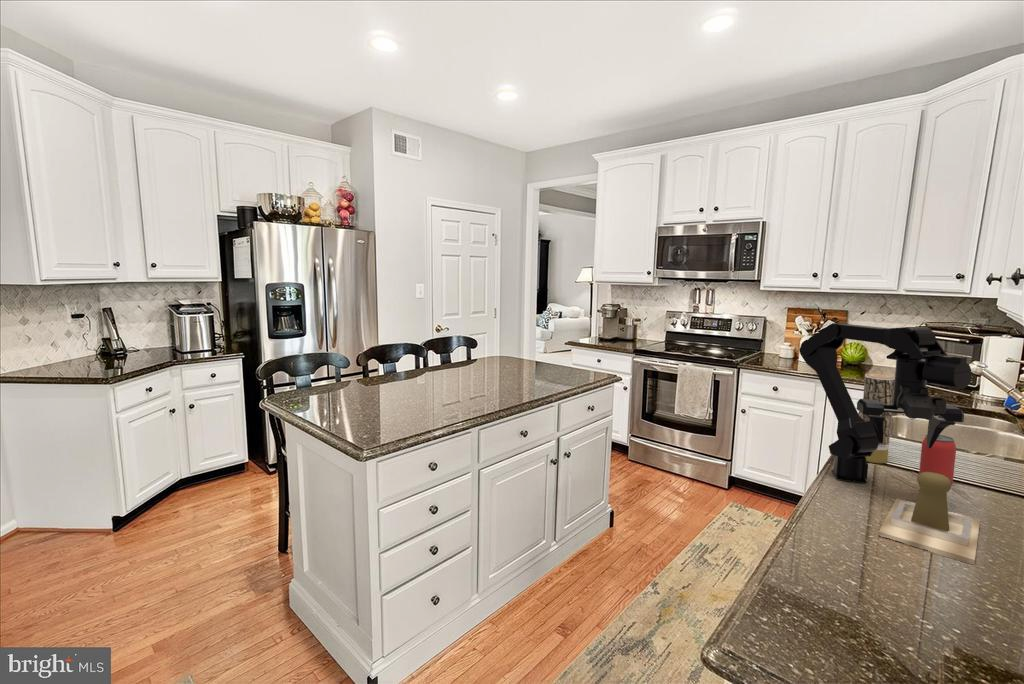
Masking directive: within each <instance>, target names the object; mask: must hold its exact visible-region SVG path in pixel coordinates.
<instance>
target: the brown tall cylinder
mask: <svg viewBox="0 0 1024 684" xmlns="http://www.w3.org/2000/svg"><path fill="white" fill-rule="evenodd" d="M894 381H895V375H894V376H893V375H889V374H881V373H880V374H879V373H866V374H865V375H864V385H863V396H862V397H863V398H862V399H872V400H878V401H880V402H881V403H883V404H890V405H893V403H891V399H893V393H894V386H893V382H894ZM892 415H893V413H892V412H884V413H883V414H882V415H881V416H883V417H884V418H885V419H884V422H883V443H882V444H881V443H880V444H879V445H878V448H877V449H876V450H874V451H873V453H872V455H871V456H866V457H865V458H866V462H867V463H872V464H885V463H888V458H889V449H890V438H891V437H890V436H891V428H892V426H891V425H892ZM861 418H862V419H863V420H864V421H871V420H870V418H868V417H867V416H866V415H865V414H862V413H861Z"/></svg>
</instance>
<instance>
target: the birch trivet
mask: <svg viewBox="0 0 1024 684" xmlns="http://www.w3.org/2000/svg"><path fill="white" fill-rule="evenodd" d="M900 501H903V502H907V503H911V504H916V502H912V501H909V500H904V499H900V498H896V499H895V501H894V503H893V505H892V507H891V508H890V510H889V512H888V514H887V516H886V518H885V519H884V521H883V523H882V524H881V527H880V529H879V530H878V535H880V536H883V537H887V538H890V539H893V540H897V541H901V542H904V543H907V544H910V545H914V546H917V547H921V548H924V549H926V550H928V551H927V552H929V551H930V552H929V553H932V554H936V555H940V556H942V557H945V558H949V559H953V560H957V561H960V562H963V563H965V564H969V565H972V564H973V565H972V566H975V563H974V562H976V555H977V554H976V553H977V547H978V546H977V545H978V540H979V532H980V525H981V519H980V518H977V517H973V516H969V515H964V514H960V513H958V512H957V513H956V512H952V511H949V510H948V513H951V514H955V515H959V516H963V517H967V518H971V519H972V522H971V529H970V535H969V541H968V546H963V545H960V544H956V543H953V542H949V541H946V540H942V539H939V538H935V537H931V536H928V535H924V534H921V533H917V532H914V531H910V530H907V529H903V528H900V527H896V526H892V525H891V518H892V516H893V514H894V512H895V510H896V508H897V506H898V504H899V502H900ZM912 515H913V512H910V511H906V510H905V511H904V513H903V515H902V517H901V519H903V520H907V521H910V522H911V518H912ZM962 530H963V525H960V524H956V523H952V522H949V531H948V532H951V533H955V534H958V535H962ZM878 535H877V536H878Z"/></svg>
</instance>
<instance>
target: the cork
mask: <svg viewBox="0 0 1024 684" xmlns="http://www.w3.org/2000/svg"><path fill="white" fill-rule="evenodd" d="M917 484H918V487H919V491H918V494H917V497H916V502H915V503H916V504H915V508H914V511H913V515H912V518H911V522H914V523H918V524H921V525H925V526H929V527H932V528H936V529H940V530H944V531H947V532H948V531H949V519H948V511H949V510H948V509H949V507H948V495H947V493H948V492H949V491H950V490H951V488H952V485H951V482H950V480H949V478H947V477H946V476H944V475H941V474H938V473H933V472H923V473H921V474H920V475H919V474H918V476H917Z"/></svg>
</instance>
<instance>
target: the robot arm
mask: <svg viewBox="0 0 1024 684" xmlns="http://www.w3.org/2000/svg"><path fill="white" fill-rule="evenodd" d="M846 340H852V341H853V340H854V341H860V342H867V343H873V344H874V343H875V344H880V345H883V346H885V347H888V348H889V349H892V350H894V351H893V352H891V353H890V354H888V355H886V356H885V357H886V359H888V360H895V370H894V371H895V372H894V377H895V381H894V382H893V386H894V393H893V399H891V403H893V405H890V404H883V403H881V402H880V401H878V400H872V399H863V398H860V399H858V401H856V406H855V403H854V401H853V399H852V397H851V395H850V393H849V390H848V389H847V386H846V385H845V382H844V380H843V378H842V376H841V373H840V371H839V370H838V367H837V362H838V357H839V355H838V353H837V350H838V349H839V348H841V347H842V346H843V344H844V342H845V341H846ZM798 349H799V354H800V356H801V357H802V360H803V361H804V362H805V365H808V366H809V367H810V368H811V369H812V370H813V371H814V372H815V373H816V374H817V377H818V379H819V381H820V383H821V386H822V388H823V391H824V392H825V395H826V397H827V399H828V402H829V403H830V406H831V408H832V410H833V413H834V415H835V417H836V420H837V425H836V426H837V427H836V434H837V435H836V436H837V438H838V439H837V440H835V441H834V442H833V443H831V444H830V445H828V450H829V454H830V455H833V456H834V462H833V469H831V472H832V474H833V475H834V476H833V477H835V479H836V480H838V481H846V482H850V483H851V482H854V483H859V484H867V482H868V481H867V479H868V473H869V471H868V470H869V463H868V462H867V461H866V458H865V457H866V456H871V455H872V453H873V451H874V450H876V449H877V448H878V445H879V444H880V443H881V444H882V443H883V422H884V419H885V418H884V417H883V416H881V415H882V414H883V413H884V412H892V414H894V413H895V414H905V417H907V418H908V419H914V420H915V419H921V420H927V421H928V422H927V423H928V424H927V432H926V433H927V434H926V435H927V447H928V448H932V446H933V444H934V443H935V441H936V440H937V438H938V436H939V435H941V433H942V432H943V431H944V429H946V428H948V427H950V426H955V425H956V424H957V423H964V421H965V412H964V411H963V409H961V408H959V407H958V406H957V407H956V406H955V405H952V404H947V399H946V398H945V397H930V395H929V387H927V383H928V384H930V385H935V386H939V387H940V386H942V387H946V388H947V387H948V388H953V389H959V390H963V389H966V388H968V386H969V385H970V383H971V382H972V379H973V371H972V368H971V366H970V364H968V363H967V361H968V358H967V357H965V356H951V355H948V354H947V353H946V351H945V349H943V347H942V346H941V344H940V343H939V342H938V340H937V337H936V334H935V332H934V331H933V329H932V328H930V327H927V326H908V327H907V326H906V327H905V326H904V327H889V328H887V327H879V326H871V325H859V324H851V323H847V322H833V323H830V324H829V325H827V326H826V327H825V328H824V329H822V330H821V331H818V332H817V333H816V334H813V335H811V336H810V337H809V338H807V339H805V340H803V341H802V343H801V344H800V346H799V348H798ZM859 413H860V414H861V415H862V414H865V415H866V416H867V417H868V418H870V420H871V421H864V420H863V419H862V416H860V414H859Z"/></svg>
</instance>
